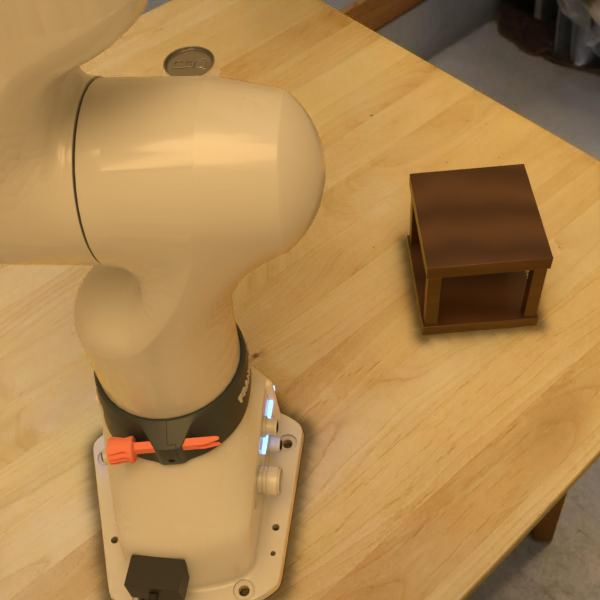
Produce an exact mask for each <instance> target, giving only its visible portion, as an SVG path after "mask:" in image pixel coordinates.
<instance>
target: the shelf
mask: <svg viewBox="0 0 600 600" xmlns="http://www.w3.org/2000/svg"><path fill="white" fill-rule="evenodd" d="M408 179H409V181H408V185H409V191H410V207H409V209H410V210H409V228H408V229H409V230H408V235H406V246H407V252H408V253H407V254H408V259H409V264H410V269H411V277H412V282H413V287H414V293H415V299H416V305H417V310H418V315H419V322H420V327H421V331H422V332H421V333H422V336H425V335H437V334H449V333H462V332H473V331H474V332H475V331H486V330H496V329H499V330H500V329H509V328H510V329H511V328H522V327H533V326H534V327H535V326H537V325H538V321H539V316H538V309H539V305H540V301H541V297H542V293H543V288H544V286H545V281H546V277H547V273H548V270H550V269H551V268H552V265H553V261H554V255H553V252H552V249H551V246H550V242H549V239H548V237H547V232H546V230H545V226H544V223H543V219H542V217H541V213H540V210H539V207H538V204H537V201H536V198H535V195H534V191H533V188H532V185H531V181H530V178H529V175H528V171H527V168H526V165H525V163H517V164H515V163H514V164H505V165H494V166H481V167H472V168H471V167H469V168H459V169H450V170H449V169H448V170H447V169H446V170H437V171H426V172H414V173H409V178H408ZM526 271H527V272H528V275H527V273H526Z"/></svg>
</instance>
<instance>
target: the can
mask: <svg viewBox="0 0 600 600" xmlns="http://www.w3.org/2000/svg"><path fill="white" fill-rule="evenodd" d="M162 67H163V71H162V76H209V75H210V76H217V77H223V74H222V70H221V67H220V65H219V62H217V60H216V59H215V55H214V53H213V52H212V51H211V50H210V49H208V48H206V47H204V46H200V45H187V46H182V47H179V48H176V49H175V50H173V51H170V53H169V54H167V55H166V57H165V58H164V60H163V63H162Z"/></svg>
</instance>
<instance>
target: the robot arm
mask: <svg viewBox="0 0 600 600" xmlns="http://www.w3.org/2000/svg"><path fill="white" fill-rule="evenodd" d="M149 2H150V0H0V266H91V267H90V269H89V270H88V271H87V272H86V274H85V275H84V276H83V278H82V280H81V282H80V284H79V286H78V288H77V292H76V293H75V294H76V295H75V298H74V304H73V324H74V329H75V332H76V335H77V338H78V340H79V341H80V344H81V346H82V348H83V350H84V352H85V354H86V357H87V358H88V361H89V362H90V365H91V367H92V369H93V377H94V382H95V383H94V384H95V392H96V395H95V396H94V399H95V401H96V403H97V405H98V407H99V412H100V419H101V427H102V435H100V437H98V438H97V439H96V440H95V442H94V443H93V447H92V449H93V450H92V452H93V453H92V454H93V461H94V470H95V479H96V488H97V489H96V490H97V498H98V507H99V517H100V525H101V533H102V543H103V552H104V560H105V561H104V562H105V570H106V579H107V586H108V592H109V595H110V598H111V600H142V599H144V600H266V599H267V598H269V597H270V596H271V595H273V594H274V593H275V592H277V590H278V589H279V588H280V586H281V584H282V580H283V575H284V569H285V562H286V557H287V556H286V555H287V550H288V544H289V543H288V542H289V537H290V530H291V524H292V517H293V511H294V505H295V498H296V491H297V485H298V478H299V474H300V467H301V459H302V453H303V446H304V440H305V433H304V430H303V427H302V426H301V424H300V423H299V421H296V420H295V419H293V418H291V417H290V416H288V415H286V414H284V413H282V412H281V410H280V407H279V402H278V398H277V395H276V387H275V386H276V385H274V384H273V383H274V382H273V381H272V380H271V379H269V378H268V376H267V375H265V374H263V372H261V371H260V370H258V369H257V368H256V367H255V366H254V365H253V364H251V363H252V362H251V358H250V355H251V354H250V351H249V347H248V343H247V342H246V339H245V337H244V335H243V332H242V330H241V328H240V326H239V325H238V323H237V322H236V318H235V317H236V316H235V308H234V292H235V290H236V288H237V287H238V286H239V285H240V283H242V281H244V279H246V277H247V276H248V275H250V274H251V273H252V272H253V271H255V270H256V269H257V268H259V267H261V266H262V265H264V264H265V263H268V262H269V261H271V260H274V259H276V258H278V257H280V256H283V255H285V254H288V253H289V252H290V251H291V250H292V249H293V248H295V247H296V245H298V244H299V242H300V241H301V240H302V239H303V238H304V237H305V235H306V234H307V232H309V230H310V228H311V226H312V225H313V223H314V221H315V219H316V217H317V215H318V213H319V210H320V208H321V205H322V201H323V197H324V194H325V187H326V178H327V177H326V174H327V173H326V172H327V171H326V166H327V165H326V157H325V152H324V151H325V150H324V147H323V143H322V140H321V137H320V134H319V132H318V129H317V127H316V125H315V123H314V121H313V120H312V118H311V116H310V115H309V113H308V112H307V110H306V109H305V107H304V106H303V105H302V104H301V103H300V101H299V100H298V99H297V97H295V96H294V95H293V94H292V93H290V91H288V90H287V89H285V88H281V87H280V88H279V87H276V86H271V85H265V84H261V83H256V82H250V81H245V80H240V79H233V78H228V77H223V76H222V77H217V76H210V75H209V76H159V75H158V76H154V75H153V76H105V77H104V76H101V75H92V74H89V73H87V72H85V71H84V70H83V69H82V68H81V67H82V66H83V65H85V64H86V63H88V62H90V61H92V60H94V59H95V58H96V57H99V56H100V55H101V54H102V53H105V51H107V50H108V49H109V48H111V47H112V46H113V45H114V44H115V43H117V42H118V41H119V40H120V39H121V38H122V37H123V36H124V35H125V34H126V33H127V32H128V31H129V30H130V29H131V28H132V27H133V26H134V25H135V23H136V22H137V21H138V19H140V17H141V15H143V13H144V11H145V9H146V7H147V5H148V3H149ZM287 444H289V445H291V446H290V447H285V445H287ZM275 529H277V530H275ZM245 589H247V590H248V594H247V595H241V592H242V590H245Z"/></svg>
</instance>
